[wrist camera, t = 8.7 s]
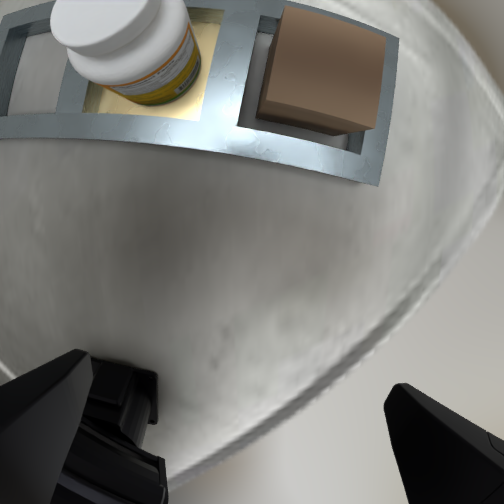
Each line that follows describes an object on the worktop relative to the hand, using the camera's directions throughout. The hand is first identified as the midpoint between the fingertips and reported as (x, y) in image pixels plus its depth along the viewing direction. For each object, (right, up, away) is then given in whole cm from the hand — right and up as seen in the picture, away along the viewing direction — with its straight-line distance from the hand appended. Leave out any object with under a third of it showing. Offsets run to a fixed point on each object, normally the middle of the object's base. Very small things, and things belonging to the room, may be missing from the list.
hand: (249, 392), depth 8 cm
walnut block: (+3, +14, +9) cm, 17 cm away
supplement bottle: (-6, +15, +8) cm, 18 cm away
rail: (-6, +15, +8) cm, 18 cm away
